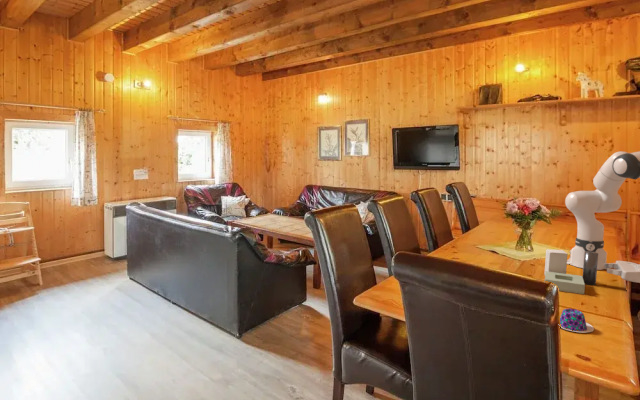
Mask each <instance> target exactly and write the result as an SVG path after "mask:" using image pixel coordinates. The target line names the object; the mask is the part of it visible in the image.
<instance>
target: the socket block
mask: <svg viewBox="0 0 640 400" xmlns="http://www.w3.org/2000/svg"><path fill="white" fill-rule="evenodd" d="M544 273H545V275H544V282H545V281H548V282H552V283H554V284H556V285H557V286H558V288H559V291H560V292H565V293H571V294H579V295H585V287H586V284H584V280H583V275H579V274H578V275H577V274H570V273H566V274H563V273H556V272H548V271H545V270H544ZM559 291H558V292H559Z"/></svg>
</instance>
